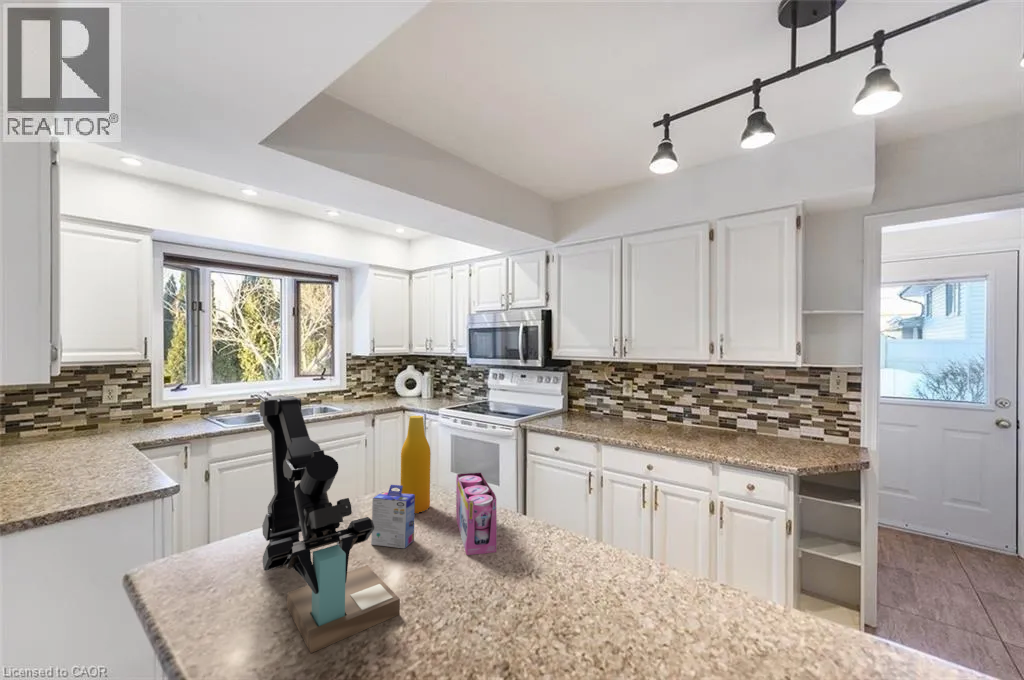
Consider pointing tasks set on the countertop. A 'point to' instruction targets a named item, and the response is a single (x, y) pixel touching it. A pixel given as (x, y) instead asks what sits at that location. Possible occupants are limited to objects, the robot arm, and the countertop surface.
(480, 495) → the gum box
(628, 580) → the countertop surface
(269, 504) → the robot arm
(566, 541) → the countertop surface
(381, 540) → the ink cartridge box
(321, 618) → the plug
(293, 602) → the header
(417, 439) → the beer bottle
